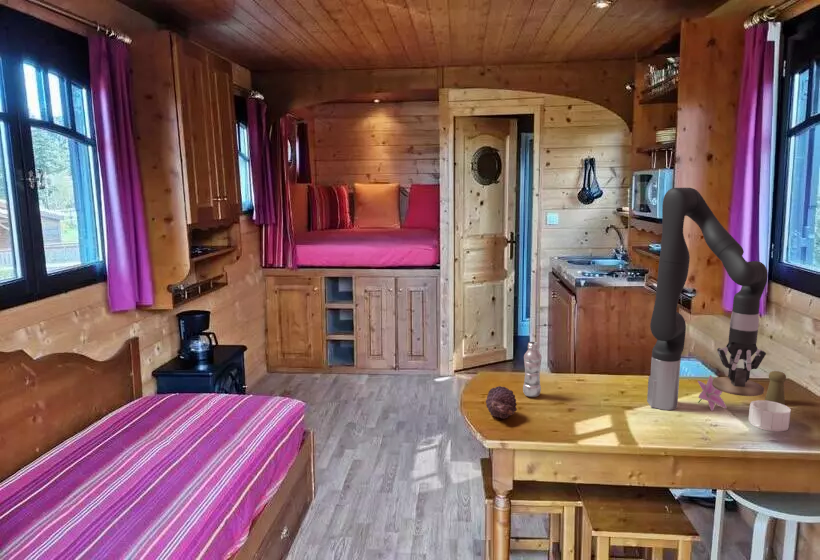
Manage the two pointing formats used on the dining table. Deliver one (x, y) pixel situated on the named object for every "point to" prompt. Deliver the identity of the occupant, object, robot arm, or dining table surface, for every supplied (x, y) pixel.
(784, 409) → the ceramic bowl
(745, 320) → the robot arm
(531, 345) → the plastic bottle
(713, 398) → the lily
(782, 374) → the cork
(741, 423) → the dining table surface
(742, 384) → the walnut lid
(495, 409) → the pine cone
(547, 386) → the dining table surface
